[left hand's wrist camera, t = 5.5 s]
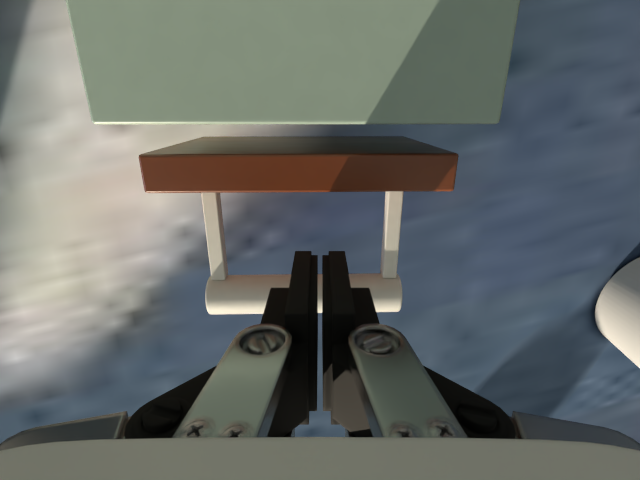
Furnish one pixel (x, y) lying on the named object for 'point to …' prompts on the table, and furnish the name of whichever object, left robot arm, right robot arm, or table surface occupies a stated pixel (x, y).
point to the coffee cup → (622, 310)
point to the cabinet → (294, 60)
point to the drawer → (297, 176)
